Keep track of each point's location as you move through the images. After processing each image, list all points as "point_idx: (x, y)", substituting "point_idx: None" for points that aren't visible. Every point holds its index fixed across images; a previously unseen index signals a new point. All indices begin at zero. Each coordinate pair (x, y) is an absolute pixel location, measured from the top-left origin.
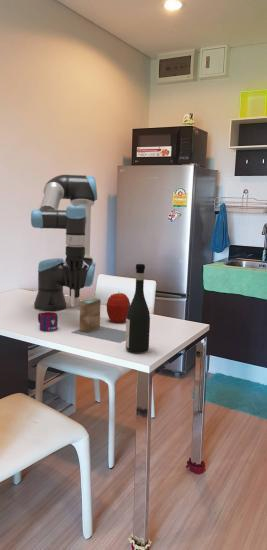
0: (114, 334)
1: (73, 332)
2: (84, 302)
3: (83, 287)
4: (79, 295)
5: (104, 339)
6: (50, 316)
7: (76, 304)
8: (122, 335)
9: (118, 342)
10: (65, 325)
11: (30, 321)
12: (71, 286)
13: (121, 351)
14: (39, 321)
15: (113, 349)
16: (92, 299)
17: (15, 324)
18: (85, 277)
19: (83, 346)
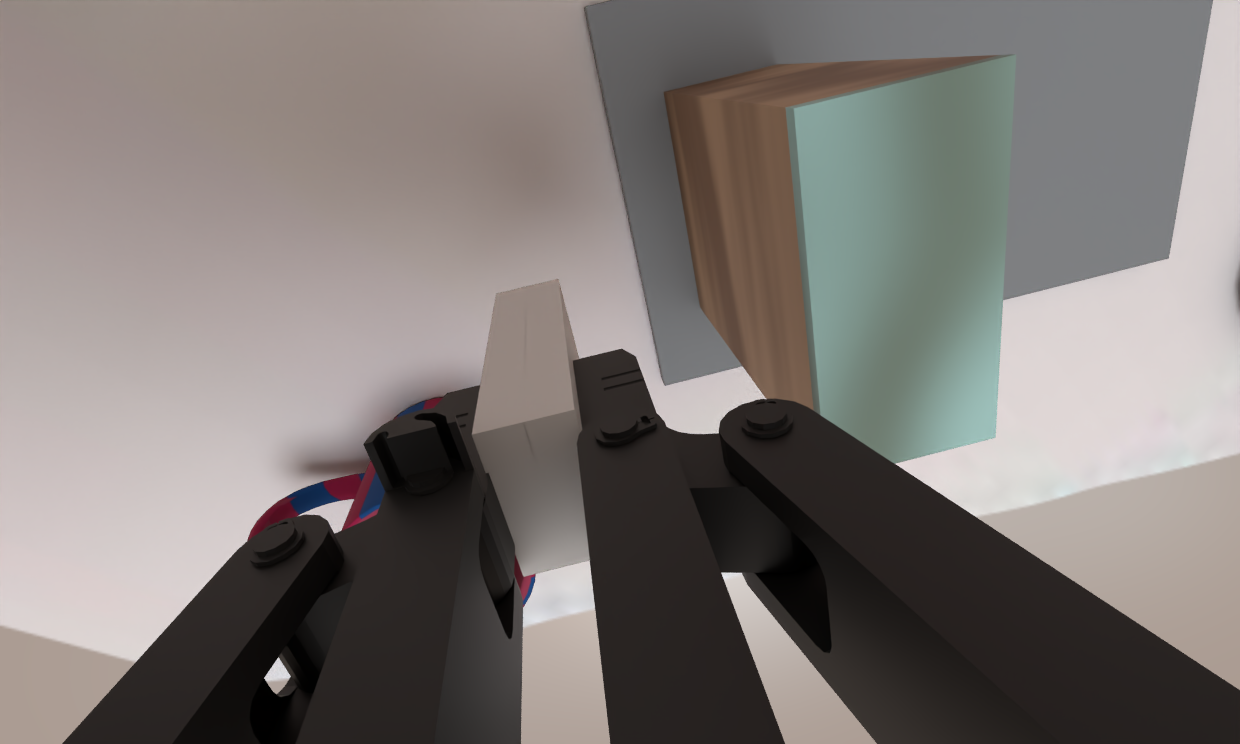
0: (1020, 107)
1: (682, 367)
2: (905, 453)
3: (789, 413)
4: (637, 362)
5: (1017, 295)
6: (527, 597)
7: (569, 322)
8: (1104, 67)
9: (1151, 260)
10: (380, 239)
11: (25, 430)
12: (522, 622)
13: (1219, 356)
14: (295, 513)
15: (1152, 369)
16: (904, 226)
17: (88, 575)
18: (1129, 674)
19: (943, 480)
